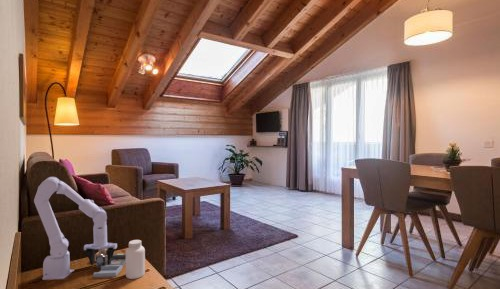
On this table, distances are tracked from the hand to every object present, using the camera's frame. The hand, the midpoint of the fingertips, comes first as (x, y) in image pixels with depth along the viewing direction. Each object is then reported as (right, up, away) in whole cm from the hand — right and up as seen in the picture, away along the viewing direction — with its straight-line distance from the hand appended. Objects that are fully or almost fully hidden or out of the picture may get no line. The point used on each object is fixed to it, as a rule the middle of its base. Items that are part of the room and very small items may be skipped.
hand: (101, 263), depth 135 cm
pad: (+6, -1, +2) cm, 7 cm away
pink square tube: (-4, -1, +9) cm, 10 cm away
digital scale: (+6, -1, +3) cm, 7 cm away
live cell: (0, -2, 0) cm, 2 cm away
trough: (+7, -1, -7) cm, 10 cm away
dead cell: (-4, -1, +9) cm, 10 cm away
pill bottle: (+20, -2, -9) cm, 22 cm away
